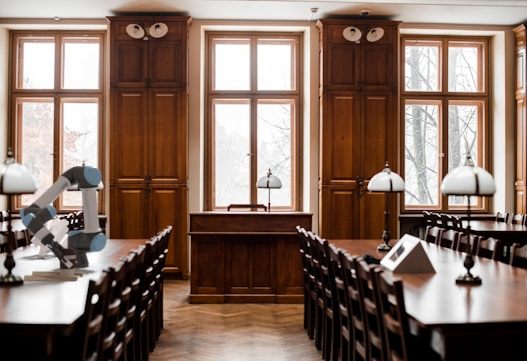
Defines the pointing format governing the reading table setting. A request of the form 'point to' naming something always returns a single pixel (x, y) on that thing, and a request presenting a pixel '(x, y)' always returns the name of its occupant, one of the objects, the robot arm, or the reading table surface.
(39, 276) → the beech guide rails
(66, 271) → the coffee cup
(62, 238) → the white jagged sculpture
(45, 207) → the robot arm
